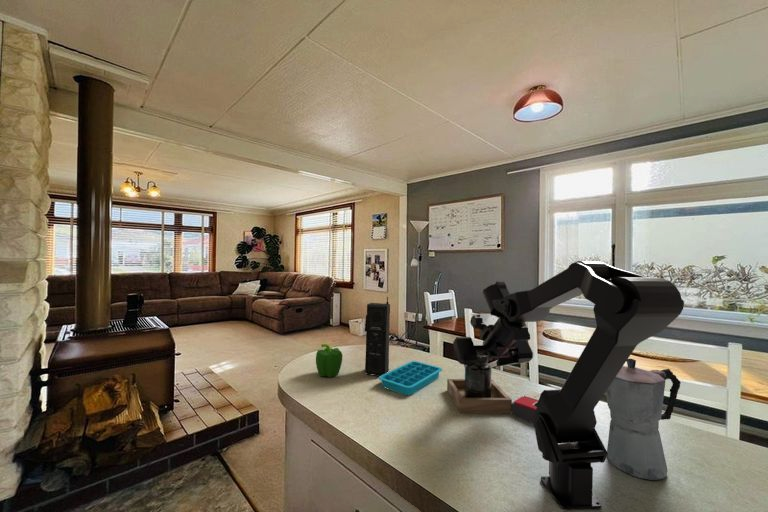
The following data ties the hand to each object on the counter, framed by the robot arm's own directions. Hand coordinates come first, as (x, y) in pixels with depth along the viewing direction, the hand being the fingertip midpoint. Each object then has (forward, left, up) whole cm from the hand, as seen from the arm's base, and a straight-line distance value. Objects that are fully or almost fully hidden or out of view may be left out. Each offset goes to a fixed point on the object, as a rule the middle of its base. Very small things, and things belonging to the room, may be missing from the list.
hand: (481, 365), depth 82 cm
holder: (+2, 0, -10) cm, 10 cm away
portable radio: (+22, +27, -10) cm, 37 cm away
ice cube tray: (+15, +16, -11) cm, 25 cm away
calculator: (-7, -15, -11) cm, 20 cm away
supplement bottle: (+2, 0, -10) cm, 10 cm away
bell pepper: (+20, +42, -10) cm, 48 cm away
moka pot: (-24, -21, -10) cm, 34 cm away
